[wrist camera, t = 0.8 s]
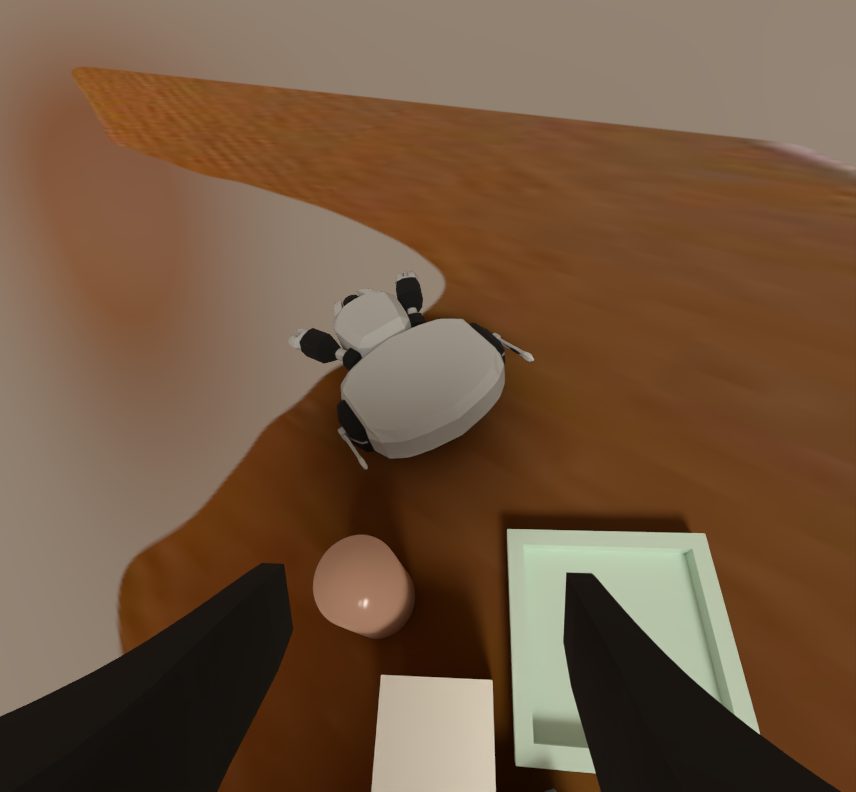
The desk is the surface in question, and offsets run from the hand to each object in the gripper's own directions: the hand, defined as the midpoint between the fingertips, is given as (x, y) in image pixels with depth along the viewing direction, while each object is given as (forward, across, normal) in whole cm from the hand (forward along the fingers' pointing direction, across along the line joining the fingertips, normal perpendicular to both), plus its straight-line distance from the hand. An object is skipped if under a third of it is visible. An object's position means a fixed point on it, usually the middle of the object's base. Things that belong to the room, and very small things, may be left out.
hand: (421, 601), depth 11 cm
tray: (+10, -8, +10) cm, 16 cm away
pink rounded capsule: (+11, +4, +9) cm, 15 cm away
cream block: (+7, 0, +13) cm, 14 cm away
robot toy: (+22, +4, -1) cm, 23 cm away
